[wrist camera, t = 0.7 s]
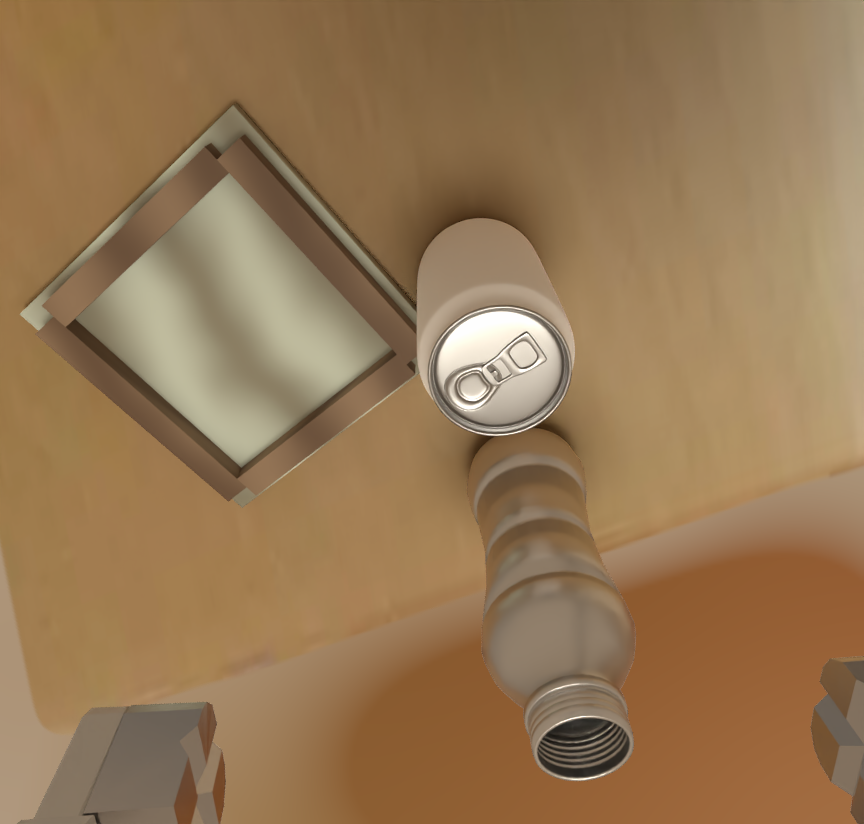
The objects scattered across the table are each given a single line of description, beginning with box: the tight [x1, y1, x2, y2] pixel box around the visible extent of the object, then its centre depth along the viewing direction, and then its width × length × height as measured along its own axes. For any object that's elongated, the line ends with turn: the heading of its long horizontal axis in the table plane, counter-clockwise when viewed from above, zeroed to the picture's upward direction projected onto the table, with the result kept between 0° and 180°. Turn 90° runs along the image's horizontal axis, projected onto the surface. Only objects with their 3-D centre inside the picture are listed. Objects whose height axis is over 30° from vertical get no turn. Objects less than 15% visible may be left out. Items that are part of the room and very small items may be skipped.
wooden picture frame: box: [20, 103, 420, 508], centre depth 40 cm, size 16×16×2 cm
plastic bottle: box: [467, 428, 636, 781], centre depth 37 cm, size 6×7×20 cm
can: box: [417, 218, 575, 436], centre depth 35 cm, size 6×6×12 cm
